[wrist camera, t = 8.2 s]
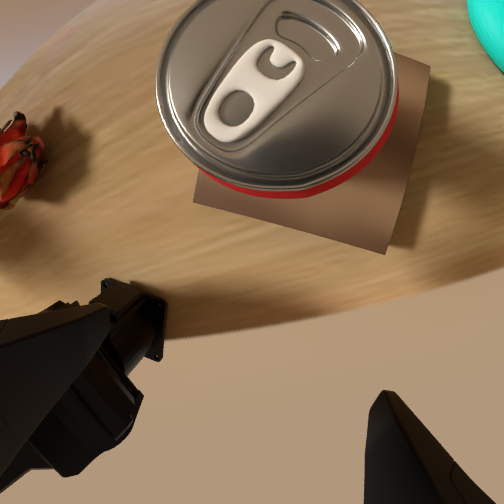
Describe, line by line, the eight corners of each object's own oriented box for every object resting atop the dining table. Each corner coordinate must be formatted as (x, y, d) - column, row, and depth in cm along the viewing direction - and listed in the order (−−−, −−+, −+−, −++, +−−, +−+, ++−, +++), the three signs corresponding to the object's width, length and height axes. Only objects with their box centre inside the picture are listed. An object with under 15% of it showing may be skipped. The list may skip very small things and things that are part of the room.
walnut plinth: (377, 244, 19) (385, 255, 17) (206, 197, 21) (192, 202, 19) (418, 76, 16) (430, 66, 13) (244, 33, 17) (234, 19, 15)
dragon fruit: (7, 166, 26) (80, 141, 25) (-14, 233, 23) (59, 218, 22) (-36, 126, 18) (36, 83, 17) (-67, 198, 15) (-5, 166, 14)
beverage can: (366, 127, 15) (458, 72, 4) (306, 193, 17) (285, 262, 6) (295, 69, 15) (253, -64, 4) (237, 134, 17) (104, 104, 6)
